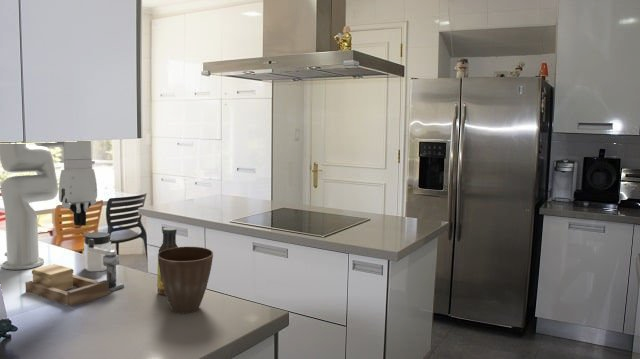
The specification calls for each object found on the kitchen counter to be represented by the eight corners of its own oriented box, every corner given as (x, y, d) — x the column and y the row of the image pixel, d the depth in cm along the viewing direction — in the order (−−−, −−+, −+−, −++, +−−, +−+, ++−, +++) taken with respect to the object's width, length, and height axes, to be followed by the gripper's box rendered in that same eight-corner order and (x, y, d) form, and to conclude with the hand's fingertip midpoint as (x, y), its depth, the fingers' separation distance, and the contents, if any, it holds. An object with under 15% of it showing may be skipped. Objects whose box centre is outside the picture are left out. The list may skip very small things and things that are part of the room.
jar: (114, 269, 172) (113, 235, 171) (89, 273, 167) (88, 238, 165) (106, 263, 179) (105, 230, 177) (82, 266, 174) (81, 233, 172)
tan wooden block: (32, 288, 150) (31, 269, 149) (55, 282, 157) (54, 263, 156) (50, 294, 146) (50, 274, 145) (73, 287, 152) (73, 268, 151)
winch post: (99, 288, 152) (98, 257, 151) (113, 284, 157) (112, 253, 155) (110, 291, 150) (109, 259, 149) (123, 287, 154) (123, 255, 153)
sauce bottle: (159, 296, 147) (158, 231, 145) (155, 290, 152) (154, 227, 150) (181, 293, 150) (181, 230, 148) (177, 287, 155) (176, 225, 153)
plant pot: (224, 307, 140) (224, 252, 139) (182, 323, 128) (182, 264, 126) (188, 295, 149) (188, 243, 147) (146, 310, 136) (146, 254, 135)
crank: (85, 251, 155) (84, 240, 155) (94, 249, 158) (93, 238, 158) (110, 257, 150) (109, 245, 149) (118, 255, 153) (118, 243, 152)
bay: (25, 291, 148) (25, 278, 147) (63, 280, 158) (63, 268, 158) (71, 306, 137) (70, 292, 137) (108, 293, 148) (108, 281, 148)
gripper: (92, 162, 156) (93, 220, 157) (46, 165, 143) (48, 228, 144) (107, 164, 152) (109, 222, 154) (62, 167, 139) (64, 231, 141)
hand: (80, 225), depth 149 cm, fingers closed
